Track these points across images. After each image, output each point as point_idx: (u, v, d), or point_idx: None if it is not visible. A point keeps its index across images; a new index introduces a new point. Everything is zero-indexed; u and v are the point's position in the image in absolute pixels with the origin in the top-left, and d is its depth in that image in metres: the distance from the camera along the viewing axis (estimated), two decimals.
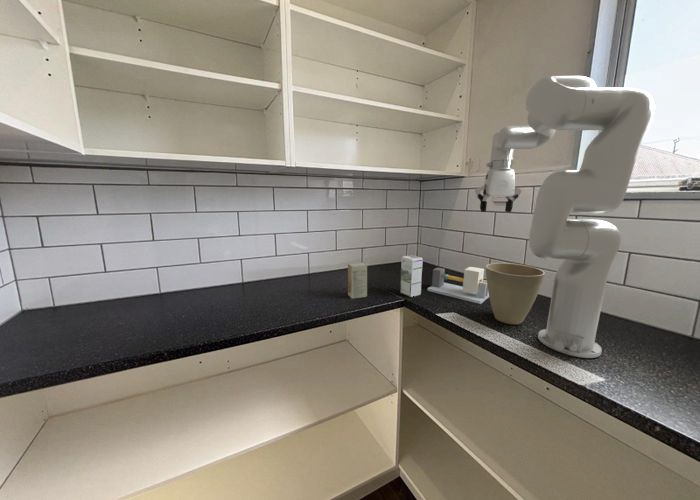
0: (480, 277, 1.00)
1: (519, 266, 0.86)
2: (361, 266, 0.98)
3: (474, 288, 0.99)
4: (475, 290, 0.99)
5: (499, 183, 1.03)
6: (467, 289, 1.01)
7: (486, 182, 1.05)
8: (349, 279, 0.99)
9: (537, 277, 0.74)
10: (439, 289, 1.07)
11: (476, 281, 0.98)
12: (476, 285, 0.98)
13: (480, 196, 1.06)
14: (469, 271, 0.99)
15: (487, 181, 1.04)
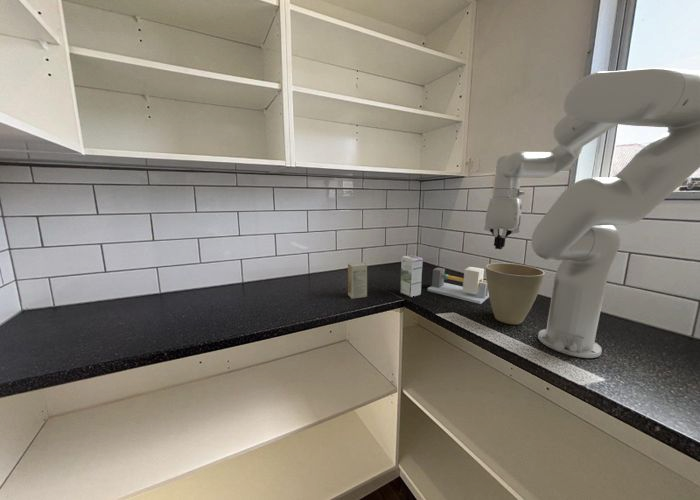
0: (480, 277, 1.00)
1: (519, 266, 0.86)
2: (361, 266, 0.98)
3: (474, 288, 0.99)
4: (475, 290, 0.99)
5: None
6: (467, 289, 1.01)
7: (520, 213, 0.90)
8: (349, 279, 0.99)
9: (537, 277, 0.74)
10: (439, 289, 1.07)
11: (476, 281, 0.98)
12: (476, 285, 0.98)
13: None
14: (469, 271, 0.99)
15: None
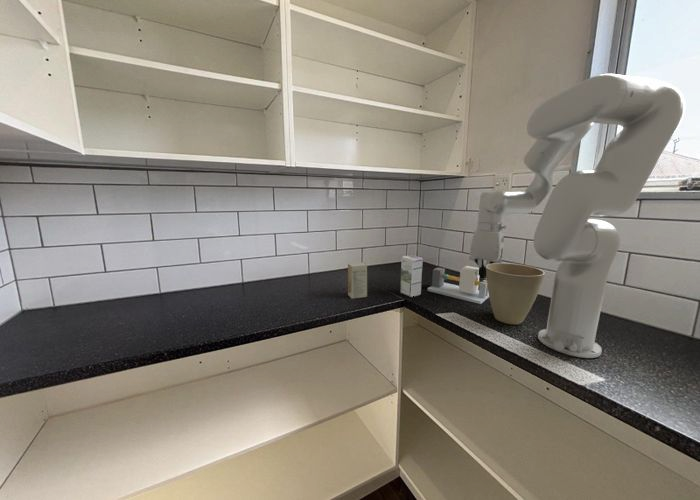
0: (476, 276, 1.00)
1: (519, 266, 0.86)
2: (361, 266, 0.98)
3: (470, 287, 1.00)
4: (471, 289, 1.00)
5: None
6: (463, 288, 1.02)
7: (502, 246, 0.94)
8: (349, 279, 0.99)
9: (537, 277, 0.74)
10: (439, 289, 1.07)
11: (472, 280, 0.99)
12: (472, 284, 0.99)
13: None
14: (465, 270, 1.00)
15: (503, 245, 0.95)
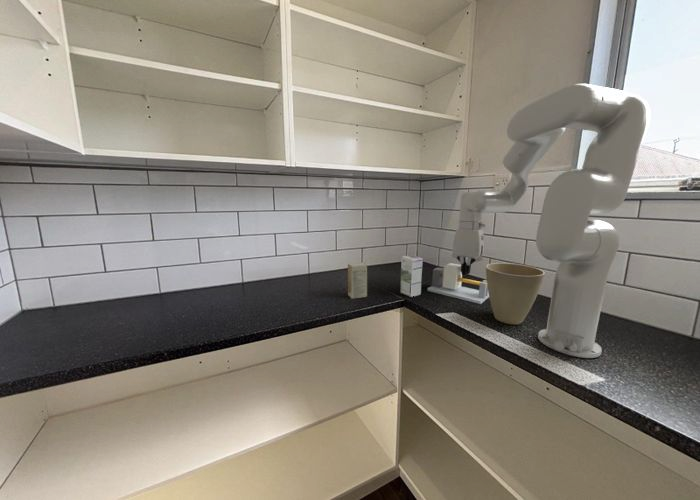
0: (459, 273, 1.05)
1: (519, 266, 0.86)
2: (361, 266, 0.98)
3: (453, 283, 1.04)
4: (454, 285, 1.04)
5: None
6: (446, 285, 1.06)
7: (482, 243, 0.99)
8: (349, 279, 0.99)
9: (537, 277, 0.74)
10: (439, 289, 1.07)
11: (455, 277, 1.03)
12: (455, 280, 1.04)
13: None
14: (448, 267, 1.05)
15: (483, 242, 0.99)
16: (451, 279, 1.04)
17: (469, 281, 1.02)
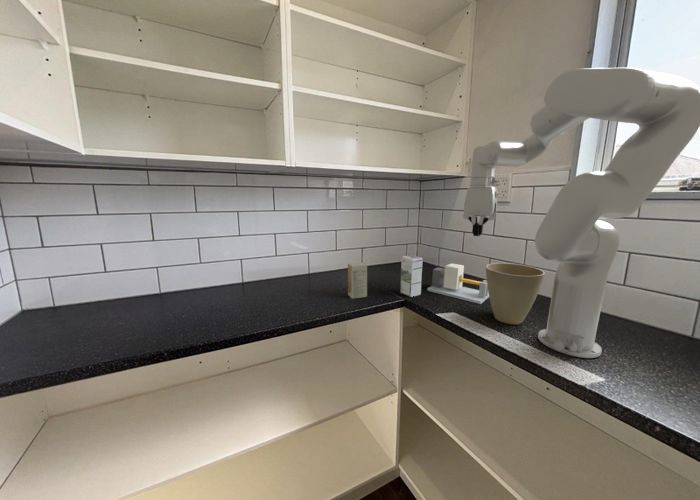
0: (460, 273, 1.04)
1: (519, 266, 0.86)
2: (361, 266, 0.98)
3: (454, 284, 1.04)
4: (455, 285, 1.04)
5: None
6: (447, 285, 1.06)
7: (496, 201, 0.94)
8: (349, 279, 0.99)
9: (537, 277, 0.74)
10: (439, 289, 1.07)
11: (456, 277, 1.03)
12: (456, 281, 1.03)
13: None
14: (449, 267, 1.04)
15: (496, 200, 0.94)
16: (452, 279, 1.04)
17: (469, 281, 1.02)
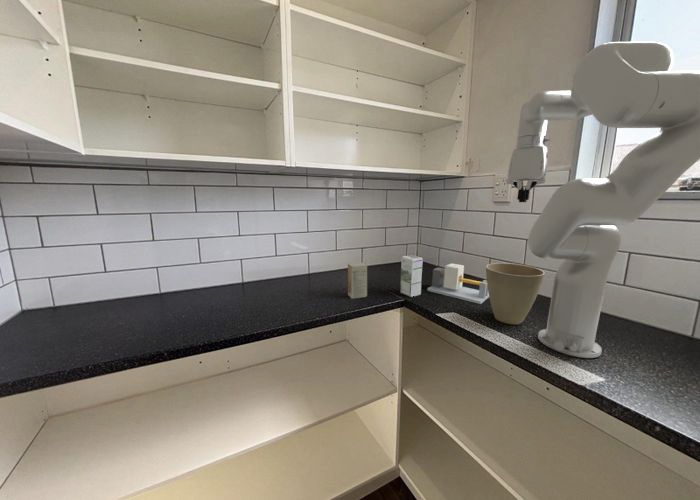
0: (460, 273, 1.04)
1: (519, 266, 0.86)
2: (361, 266, 0.98)
3: (454, 284, 1.04)
4: (455, 285, 1.04)
5: None
6: (447, 285, 1.06)
7: (546, 162, 0.86)
8: (349, 279, 0.99)
9: (537, 277, 0.74)
10: (439, 289, 1.07)
11: (456, 277, 1.03)
12: (456, 281, 1.03)
13: None
14: (449, 267, 1.04)
15: None
16: (452, 279, 1.04)
17: (469, 281, 1.02)
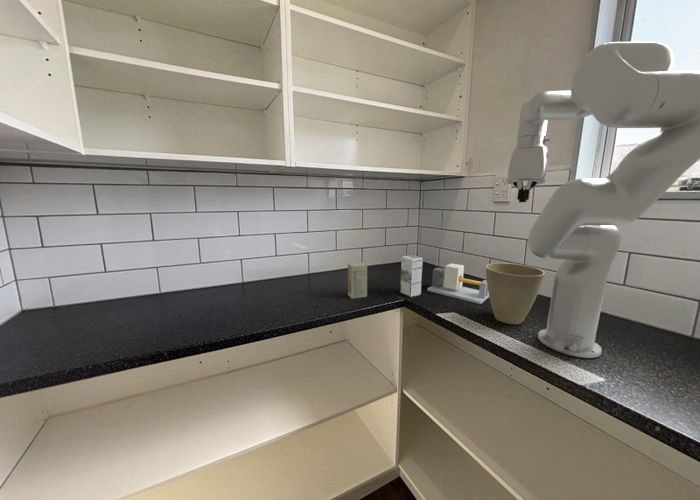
0: (460, 273, 1.04)
1: (519, 266, 0.86)
2: (361, 266, 0.98)
3: (454, 284, 1.04)
4: (455, 285, 1.04)
5: None
6: (447, 285, 1.06)
7: (546, 162, 0.85)
8: (349, 279, 0.99)
9: (537, 277, 0.74)
10: (439, 289, 1.07)
11: (456, 277, 1.03)
12: (456, 281, 1.03)
13: None
14: (449, 267, 1.04)
15: None
16: (452, 279, 1.04)
17: (469, 281, 1.02)
